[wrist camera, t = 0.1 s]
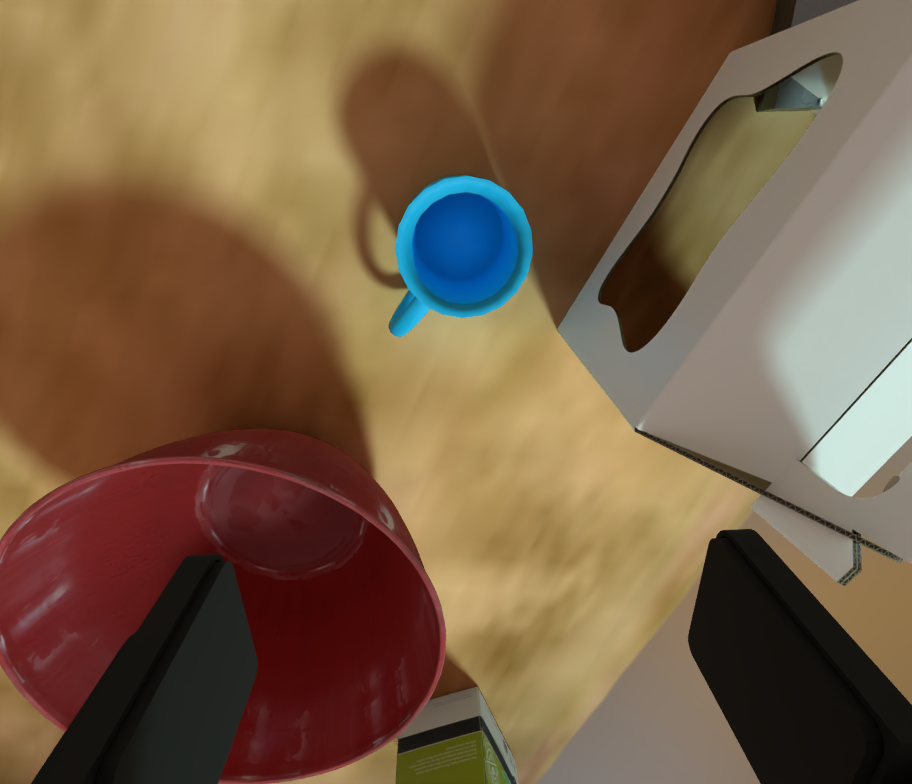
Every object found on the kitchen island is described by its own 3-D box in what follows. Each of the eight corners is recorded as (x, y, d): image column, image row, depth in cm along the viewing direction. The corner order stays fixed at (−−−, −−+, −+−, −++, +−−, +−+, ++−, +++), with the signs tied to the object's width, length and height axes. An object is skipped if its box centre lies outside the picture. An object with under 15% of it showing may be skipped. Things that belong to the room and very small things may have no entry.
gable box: (679, 398, 44) (1026, 718, 18) (553, 332, 41) (753, 601, 15) (870, 149, 36) (1916, 96, 11) (731, 46, 33) (1714, -369, 8)
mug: (448, 148, 35) (452, 142, 27) (535, 224, 37) (561, 237, 30) (352, 286, 38) (333, 313, 31) (437, 347, 41) (438, 387, 33)
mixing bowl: (239, 288, 38) (124, 357, 24) (505, 492, 47) (537, 632, 32) (68, 519, 46) (-95, 674, 32) (323, 658, 54) (284, 829, 40)
